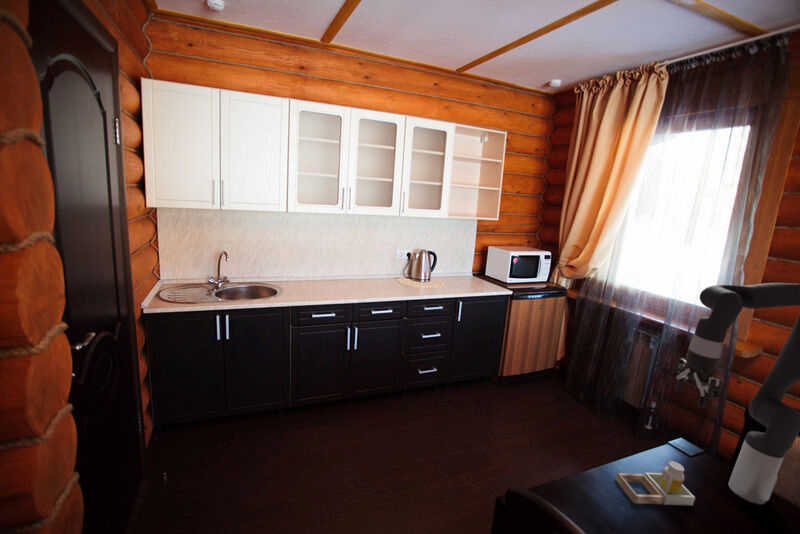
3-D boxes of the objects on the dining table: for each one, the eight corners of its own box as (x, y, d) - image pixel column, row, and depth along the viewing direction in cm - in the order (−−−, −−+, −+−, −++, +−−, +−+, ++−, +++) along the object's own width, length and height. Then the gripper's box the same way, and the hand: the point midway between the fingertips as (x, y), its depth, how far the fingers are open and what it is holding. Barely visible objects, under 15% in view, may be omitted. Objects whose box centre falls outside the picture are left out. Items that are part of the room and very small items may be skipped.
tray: (669, 481, 124) (671, 473, 124) (692, 505, 115) (695, 497, 114) (642, 480, 123) (644, 472, 123) (663, 504, 114) (666, 496, 114)
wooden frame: (641, 480, 123) (643, 474, 123) (662, 504, 114) (664, 497, 114) (615, 479, 122) (617, 472, 122) (634, 503, 114) (636, 496, 113)
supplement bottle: (655, 489, 119) (663, 463, 117) (661, 481, 123) (669, 456, 120) (675, 501, 115) (683, 474, 113) (680, 493, 119) (689, 467, 116)
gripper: (737, 363, 108) (720, 413, 112) (696, 341, 122) (682, 386, 125) (713, 362, 107) (697, 412, 111) (674, 340, 121) (661, 385, 125)
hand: (689, 398), depth 118 cm, fingers open, 8 cm apart
